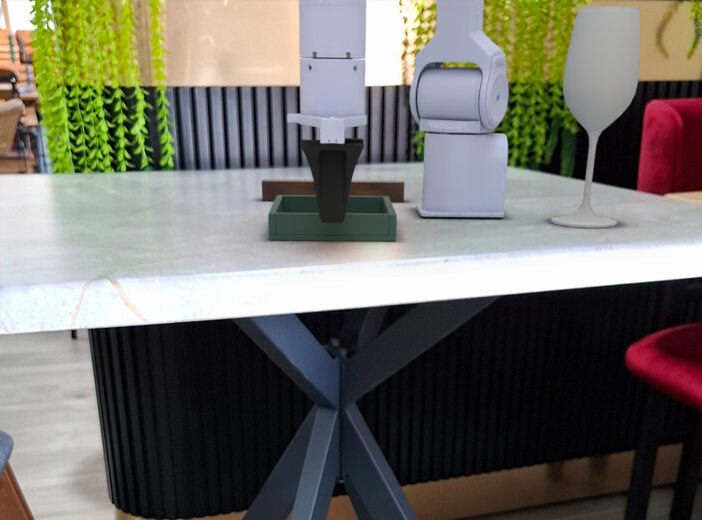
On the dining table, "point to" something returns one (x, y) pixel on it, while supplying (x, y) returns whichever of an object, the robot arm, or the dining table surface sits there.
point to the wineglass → (600, 84)
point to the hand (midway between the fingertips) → (332, 222)
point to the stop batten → (356, 189)
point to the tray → (305, 224)
